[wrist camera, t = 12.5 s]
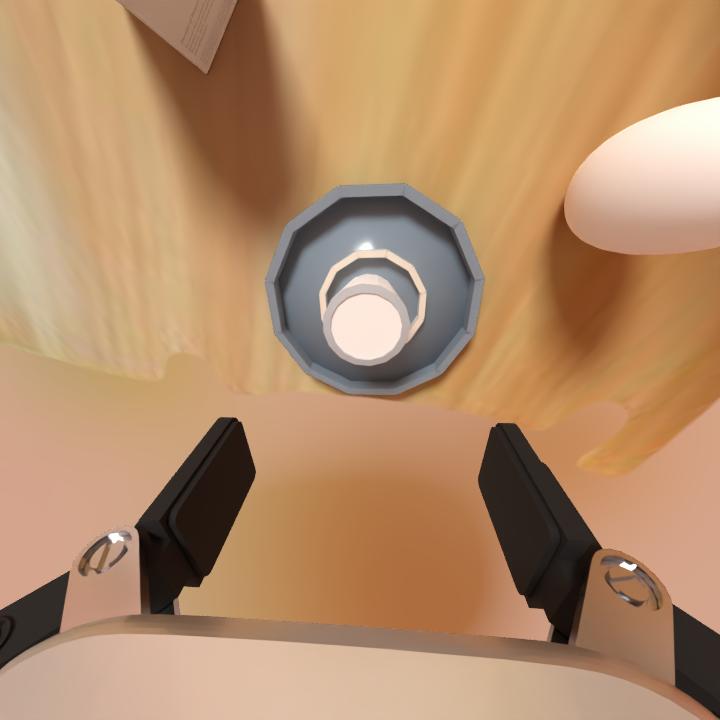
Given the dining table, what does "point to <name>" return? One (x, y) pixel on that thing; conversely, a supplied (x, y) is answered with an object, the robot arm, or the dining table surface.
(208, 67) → the supplement box
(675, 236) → the air blower bulb
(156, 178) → the dining table surface
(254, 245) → the dining table surface
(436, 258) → the round tray
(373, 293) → the pale cup
